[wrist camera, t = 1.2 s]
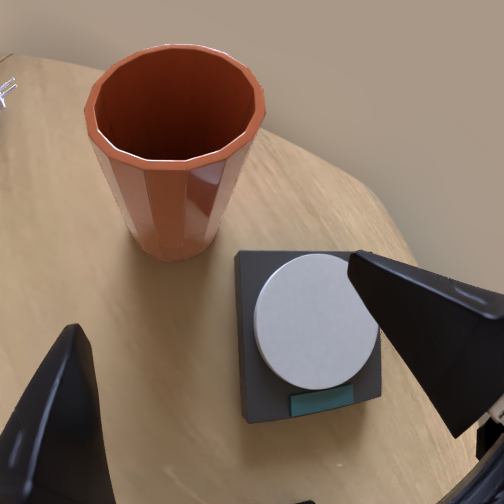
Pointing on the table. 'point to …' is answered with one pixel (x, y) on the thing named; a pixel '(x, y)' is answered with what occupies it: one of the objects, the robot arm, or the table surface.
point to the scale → (302, 335)
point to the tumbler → (174, 141)
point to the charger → (0, 102)
